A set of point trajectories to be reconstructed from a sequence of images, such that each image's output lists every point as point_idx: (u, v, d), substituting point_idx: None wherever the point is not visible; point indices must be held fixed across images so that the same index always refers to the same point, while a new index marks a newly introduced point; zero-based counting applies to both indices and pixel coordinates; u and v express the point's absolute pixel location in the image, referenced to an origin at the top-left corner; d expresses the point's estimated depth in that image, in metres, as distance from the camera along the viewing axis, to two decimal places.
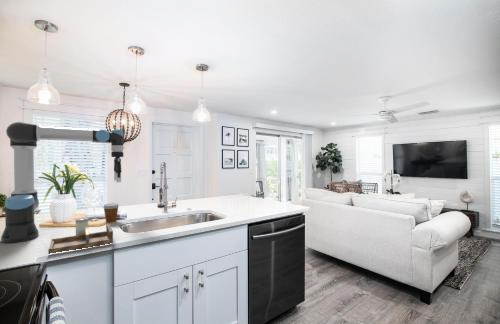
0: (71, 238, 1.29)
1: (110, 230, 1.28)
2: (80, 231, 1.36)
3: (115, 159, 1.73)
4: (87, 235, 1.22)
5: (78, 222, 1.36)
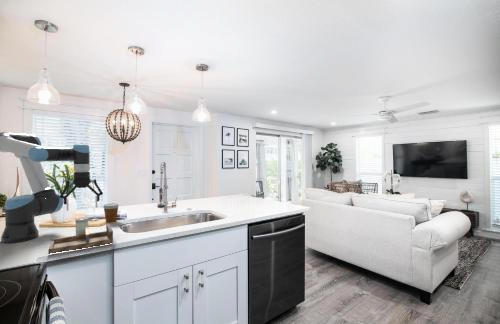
0: (71, 238, 1.29)
1: (110, 230, 1.28)
2: (80, 231, 1.36)
3: None
4: (87, 235, 1.22)
5: (78, 222, 1.36)
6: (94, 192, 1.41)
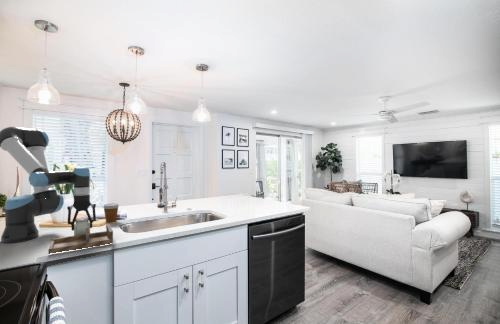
0: (71, 238, 1.29)
1: (110, 230, 1.28)
2: (80, 231, 1.36)
3: None
4: (87, 235, 1.22)
5: (78, 222, 1.36)
6: (88, 217, 1.40)
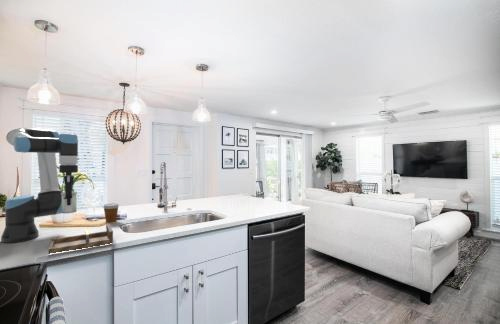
0: (71, 238, 1.29)
1: (110, 230, 1.28)
2: (76, 205, 1.24)
3: None
4: (87, 235, 1.22)
5: (75, 194, 1.23)
6: None
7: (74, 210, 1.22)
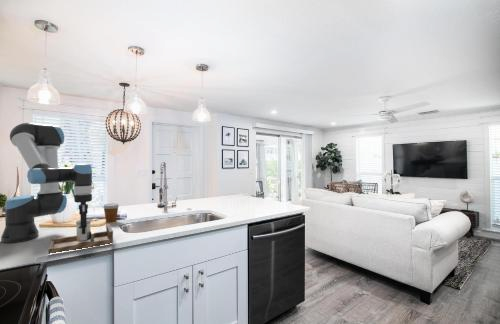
0: (71, 238, 1.29)
1: (110, 230, 1.28)
2: (90, 232, 1.27)
3: (80, 204, 1.27)
4: (92, 234, 1.23)
5: (89, 223, 1.26)
6: None
7: (88, 238, 1.26)
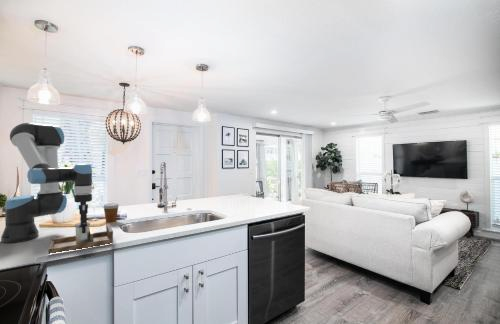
0: (71, 238, 1.29)
1: (110, 230, 1.28)
2: (89, 235, 1.27)
3: None
4: (91, 234, 1.23)
5: (88, 225, 1.26)
6: None
7: (87, 241, 1.26)
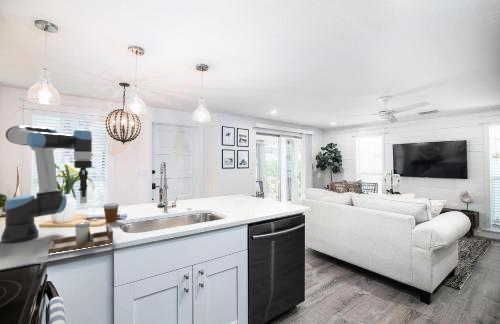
0: (71, 238, 1.29)
1: (110, 230, 1.28)
2: (89, 235, 1.27)
3: None
4: (91, 234, 1.23)
5: (88, 225, 1.26)
6: None
7: (87, 241, 1.26)
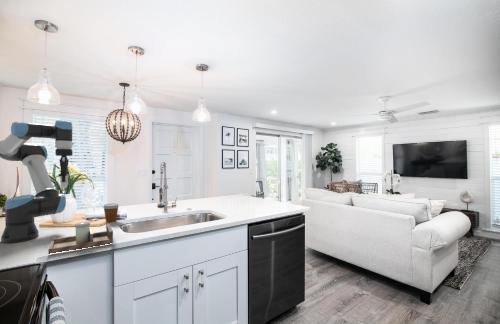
0: (71, 238, 1.29)
1: (110, 230, 1.28)
2: (89, 235, 1.27)
3: None
4: (91, 234, 1.23)
5: (88, 225, 1.26)
6: None
7: (87, 241, 1.26)
